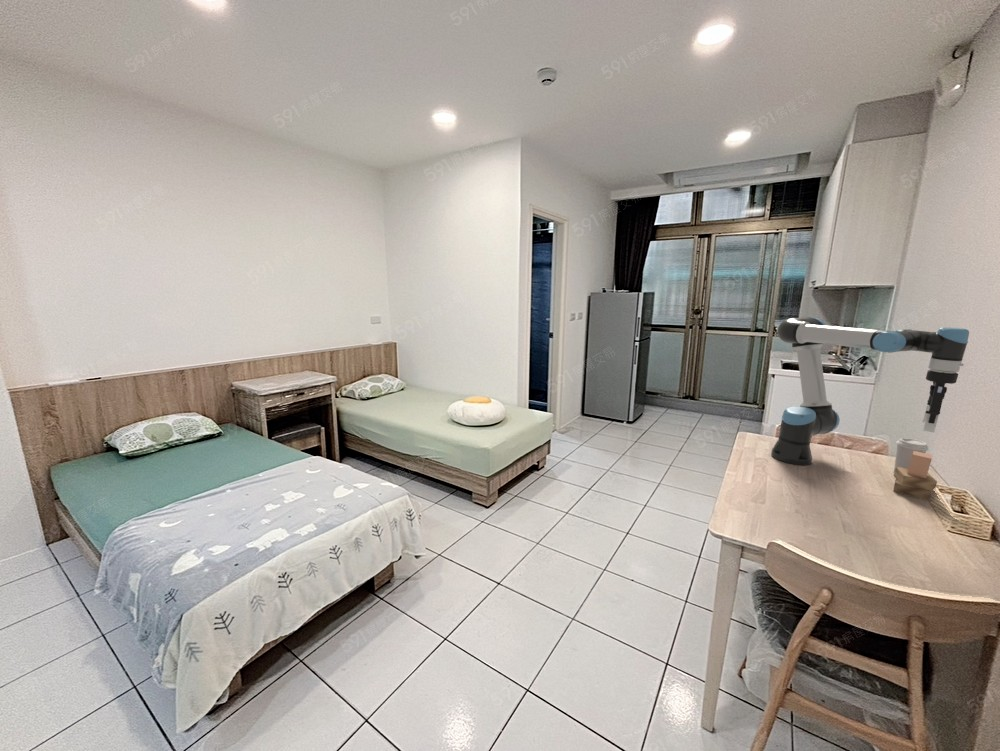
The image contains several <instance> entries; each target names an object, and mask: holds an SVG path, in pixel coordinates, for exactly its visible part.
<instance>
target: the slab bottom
mask: <svg viewBox="0 0 1000 751" xmlns="http://www.w3.org/2000/svg"><path fill="white" fill-rule="evenodd" d="M892 491H893V492H894V493H899V494H902V495H905V496H908V497H911V498H916V499H919V500H923V501H926V502H930V497H931V494H932V491H929V490H924V489H919V488H913V487H908V486H903V485H901V484H900V483H899V482H898V481H897V479H896V478H895V480H894V485H893V490H892Z"/></svg>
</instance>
